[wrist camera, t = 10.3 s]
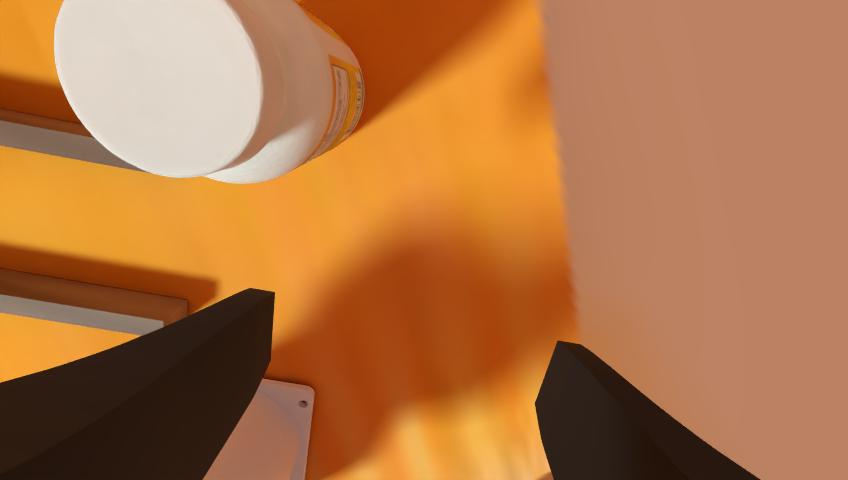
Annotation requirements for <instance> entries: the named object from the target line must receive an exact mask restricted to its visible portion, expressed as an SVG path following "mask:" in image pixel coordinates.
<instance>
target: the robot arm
mask: <svg viewBox="0 0 848 480" xmlns="http://www.w3.org/2000/svg"><path fill="white" fill-rule="evenodd" d="M274 299H275V292H271V291H265V290H259V289H253V288H249V289H246V290H243V291H241V292H239V293H237V294H234V295H232V296H230V297H228V298H226V299H224V300H221V301H219V302H217V303H215V304H213V305H211V306H209V307H207V308H205V309H202V310H200V311H198V312H196V313H194V314H192V315H189V316H187V317H185V318H183V319H181V320H179V321H176V322H174V323H172V324H169V325H167V326H165V327H162V328H160V329H157V330H155V331H153V332H150V333H148V334H145V335H143V336H141V337H138V338H136V339H133V340H131V341H129V342H126V343H123V344H121V345H118V346H116V347H113V348H110V349H107V350H105V351H102V352H99V353H96V354H93V355H90V356H88V357H85V358H82V359H79V360H76V361H73V362H70V363H67V364H64V365H61V366H57V367H54V368H51V369H48V370H44V371H41V372H37V373H33V374H30V375H26V376H23V377H19V378H16V379H12V380H9V381H5V382H1V383H0V480H305V474H306V465H307V456H308V448H309V439H310V430H311V422H312V413H313V405H314V396H315V393H314V390H313V389H312V388H311V387H309V386H306V385H300V384H294V383H287V382H281V381H275V380H269V379H263V376H264V374H265V372H266V370H267V367H268V365H269V363H270V361H271V345H272V330H273V314H274ZM302 401H306V402H307V403H304V402H302ZM535 407H536V412H537V418H538V424H539V429H540V434H541V439H542V443H543V447H544V450H545V453H546V456H547V460H548V463H549V466H550V469H551V472H552V475H553V478H554V480H760V479H759V478H757V477H756V476H754V475H753V474H751V473H750V472H748V471H747V470H745V469H744V468H742V467H741V466H739V465H738V464H736V463H735V462H733V461H732V460H730V459H729V458H728V457H726V456H725V455H723V454H722V453H720V452H719V451H717V450H716V449H714V448H713V447H712V446H710V445H709V444H707V443H706V442H705V441H703V440H702V439H700V438H699V437H698V436H696V435H695V434H694V433H693V432H691V431H690V430H689V429H687V428H686V427H685V426H683V425H682V424H681V423H679V422H678V421H677V420H675V419H674V418H673V417H671V416H670V415H669V414H668V413H666V412H665V411H664V410H663V409H661V408H660V407H659V406H657V405H656V404H655V403H654V402H652V401H651V400H650V399H649V398H648V397H646V396H645V395H644V394H643V393H641V392H640V391H639V390H638V389H637V388H635V387H634V386H633V385H632V384H630V383H629V382H628V381H627V380H626V379H624V378H623V377H622V376H621V375H620V374H618V373H617V372H616V371H615V370H614V369H612V368H611V367H610V366H609V365H607V364H606V363H605V362H604V361H602V360H601V359H600V358H599V357H597V356H596V355H595V354H594V353H592V352H591V351H590V350H588V349H587V348H585V347H584V346H582V345H581V344H575V343H569V342H563V341H557V344H556V347H555V349H554V352H553V355H552V358H551V360H550V363H549V366H548V369H547V371H546V374H545V377H544V380H543V383H542V385H541V388H540V391H539V394H538V396H537V399H536V402H535Z"/></svg>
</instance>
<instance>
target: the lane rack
mask: <svg viewBox="0 0 848 480" xmlns="http://www.w3.org/2000/svg"><path fill="white" fill-rule="evenodd" d="M0 145H1V146H6V147H12V148H17V149H23V150H28V151H34V152H39V153H45V154H50V155H55V156H61V157H66V158H72V159H77V160H83V161H88V162H93V163H99V164H104V165H110V166H115V167H121V168H126V169H132V170H137V171H142V172H147V171H144V170H142V169H140V168H138V167H136V166H134V165H132V164H130V163H128V162H126V161H124V160H122V159H121V158H119V157H117V156H116V155H114V154H113V153H112V152H110V151H109V150H108V149H106V148H105V147H104V146H103V145H102V144H101V143H100V142H99V141H98V140H97V139H96V138H94V137H93V136H92V134H91V133H90V132H89V131H88V130H87V129H86V128H85V126H84V125H83V124H79V123H74V122H69V121H63V120H58V119H53V118H48V117H42V116H37V115H32V114H26V113H21V112H16V111H10V110H5V109H0ZM148 173H150V172H148ZM153 174H154V173H153ZM0 313H6V314H13V315H19V316H25V317H31V318H37V319H43V320H50V321H56V322H62V323H68V324H74V325H80V326H87V327H93V328H99V329H105V330H111V331H117V332H124V333H130V334H136V335H142V336H143V335H145V334H148V333H150V332H153V331H155V330H157V329H160V328H162V327H165V326H167V325H169V324H172V323H174V322H176V321H179V320H181V319H183V318H185V317H187V316H188V300H184V299H179V298H173V297H167V296H161V295H155V294H149V293H143V292H137V291H131V290H125V289H119V288H113V287H107V286H101V285H95V284H89V283H83V282H77V281H71V280H65V279H59V278H53V277H48V276H42V275H36V274H30V273H24V272H18V271H12V270H6V269H0Z"/></svg>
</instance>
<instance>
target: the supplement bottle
mask: <svg viewBox="0 0 848 480" xmlns="http://www.w3.org/2000/svg"><path fill="white" fill-rule="evenodd" d="M54 55H55V62H56V67H57V73H58V77H59V79H60V82H61V85H62V88H63V91H64V93H65V95H66V97H67V100H68V102H69V104H70V106H71V107H72V109H73V110H74V112H75V114H76V115H77V117H78V118H79V119H80V121H81V122H82V123H83V125H84V126H85V128H86V129H87V130H88V131H89V132H90V133H91V134H92V136H93V137H94V138H96V139H97V140H98V141H99V142H100V143H101V144H102V145H103V146H104V147H105V148H106V149H108V150H109V151H110V152H112V153H113V154H114V155H116V156H117V157H119V158H121V159H122V160H124V161H126V162H128V163H130V164H132V165H134V166H136V167H138V168H140V169H142V170H144V171H147V172H150V173H154V174H158V175H162V176H168V177H175V178H186V177H198V176H204V177H208V178H211V179H214V180H218V181H222V182H228V183H257V182H263V181H267V180H271V179H274V178H277V177H280V176H282V175H284V174H286V173H288V172H290V171H292V170H294V169H296V168H298V167H299V166H301V165H303V164H305V163H307V162H309V161H311V160H312V159H314V158H316V157H318V156H320V155H322V154H324V153H325V152H327V151H329V150H331V149H333V148H334V147H336V146H338V145H339V144H340V143H342V142H343V141H344V140H345V139H346V138H347V137H348V136H349V135H350V134H351V132H352V131H353V130H354V128H355V127H356V125H357V123H358V121H359V119H360V116H361V113H362V109H363V105H364V96H365V89H364V80H363V75H362V71H361V68H360V65H359V63H358V61H357V59H356V57H355V55H354V53H353V52H352V50H351V49H350V47H349V46H348V45H347V43H346V42H345V41H344V40H343V39H342V38H341V37H340V36H339V35H338V34H337V33H336V32H335V31H333V30H332V29H331V28H330V27H328V26H327V25H326V24H325V23H323V22H322V21H320V20H319V19H318V18H316V17H315V16H314V15H313V14H311V13H310V12H309V11H308V10H306V9H305V8H304V7H302V6H301V5H300V4H299V3H297V2H296V1H295V0H64V2H63V4H62V6H61V8H60V11H59V14H58V17H57V20H56V24H55V32H54Z"/></svg>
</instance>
